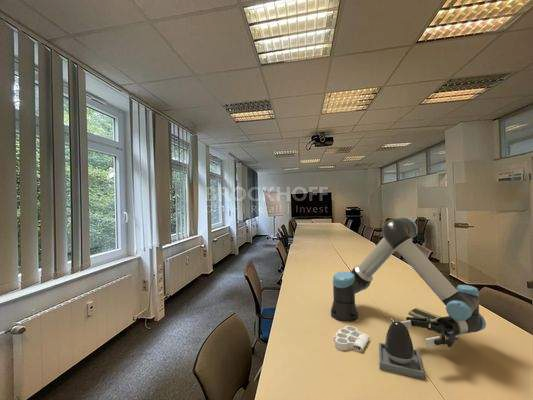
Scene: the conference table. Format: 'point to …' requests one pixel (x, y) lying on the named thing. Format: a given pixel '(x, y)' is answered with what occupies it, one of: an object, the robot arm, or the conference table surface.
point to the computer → (423, 314)
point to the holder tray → (408, 369)
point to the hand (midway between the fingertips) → (411, 333)
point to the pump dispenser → (399, 343)
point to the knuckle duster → (350, 339)
